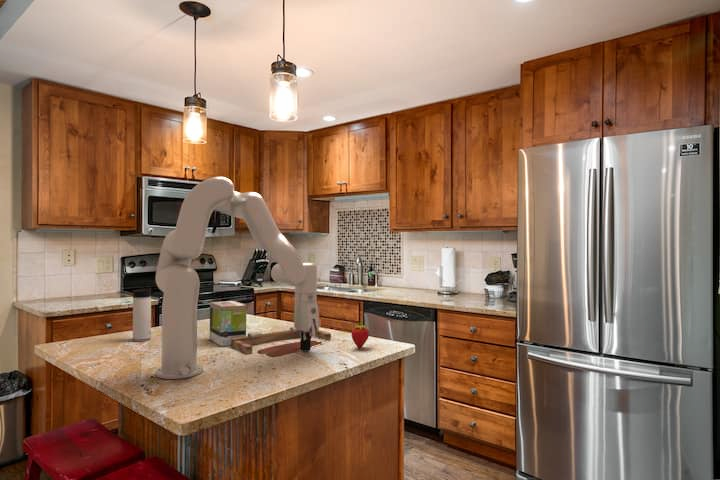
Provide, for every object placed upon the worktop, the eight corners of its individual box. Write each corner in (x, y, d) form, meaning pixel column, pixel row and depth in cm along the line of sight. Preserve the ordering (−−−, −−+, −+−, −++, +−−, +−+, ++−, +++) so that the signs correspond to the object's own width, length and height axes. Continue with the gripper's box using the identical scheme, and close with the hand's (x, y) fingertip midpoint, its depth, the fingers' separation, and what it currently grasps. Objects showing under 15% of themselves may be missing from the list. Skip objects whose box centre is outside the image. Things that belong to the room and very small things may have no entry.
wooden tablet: (274, 359, 146) (274, 354, 146) (255, 354, 152) (255, 349, 152) (329, 344, 166) (329, 340, 166) (310, 340, 173) (310, 336, 173)
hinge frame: (330, 340, 172) (330, 329, 172) (246, 354, 149) (247, 342, 149) (311, 334, 182) (311, 324, 182) (230, 346, 160) (230, 335, 160)
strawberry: (372, 347, 160) (372, 320, 160) (361, 352, 154) (361, 323, 154) (359, 345, 163) (359, 318, 163) (347, 349, 157) (347, 321, 157)
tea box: (247, 343, 165) (247, 304, 165) (220, 347, 159) (220, 306, 159) (234, 336, 177) (234, 299, 177) (208, 339, 172) (208, 301, 172)
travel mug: (155, 339, 171) (155, 287, 171) (138, 342, 165) (139, 289, 165) (145, 337, 174) (145, 286, 174) (129, 340, 168) (129, 288, 168)
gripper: (326, 299, 150) (326, 353, 150) (303, 295, 161) (303, 344, 161) (308, 301, 145) (307, 356, 145) (285, 296, 157) (285, 347, 157)
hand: (305, 350), depth 153 cm, fingers closed
